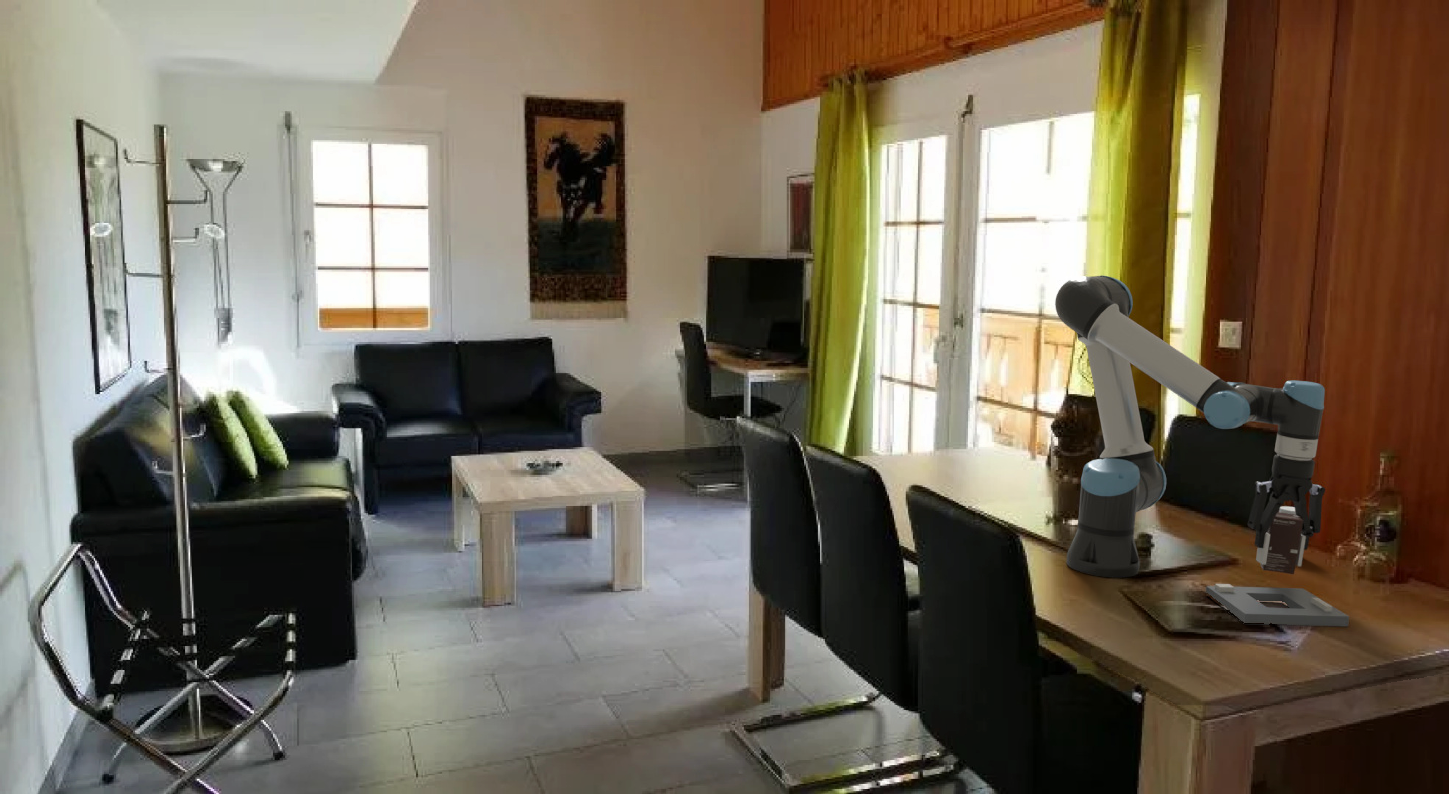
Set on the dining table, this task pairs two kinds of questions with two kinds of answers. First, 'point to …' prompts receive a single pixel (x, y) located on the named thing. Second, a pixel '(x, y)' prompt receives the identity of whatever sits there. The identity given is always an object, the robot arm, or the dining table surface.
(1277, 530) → the box
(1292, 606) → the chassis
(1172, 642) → the dining table surface
